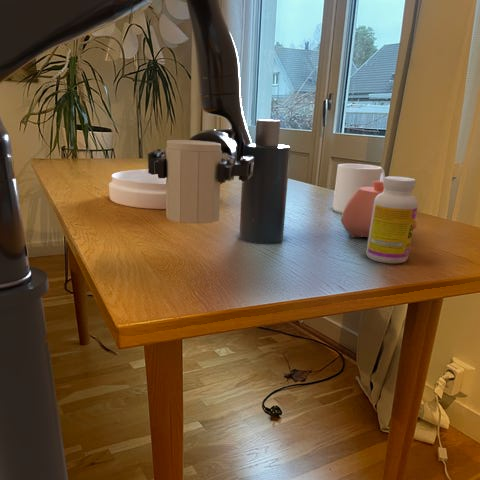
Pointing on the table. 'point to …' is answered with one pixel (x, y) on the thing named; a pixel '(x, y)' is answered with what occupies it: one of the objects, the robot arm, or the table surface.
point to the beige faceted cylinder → (192, 181)
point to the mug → (354, 182)
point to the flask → (265, 186)
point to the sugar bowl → (362, 210)
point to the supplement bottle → (392, 221)
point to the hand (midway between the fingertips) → (191, 171)
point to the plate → (138, 189)
